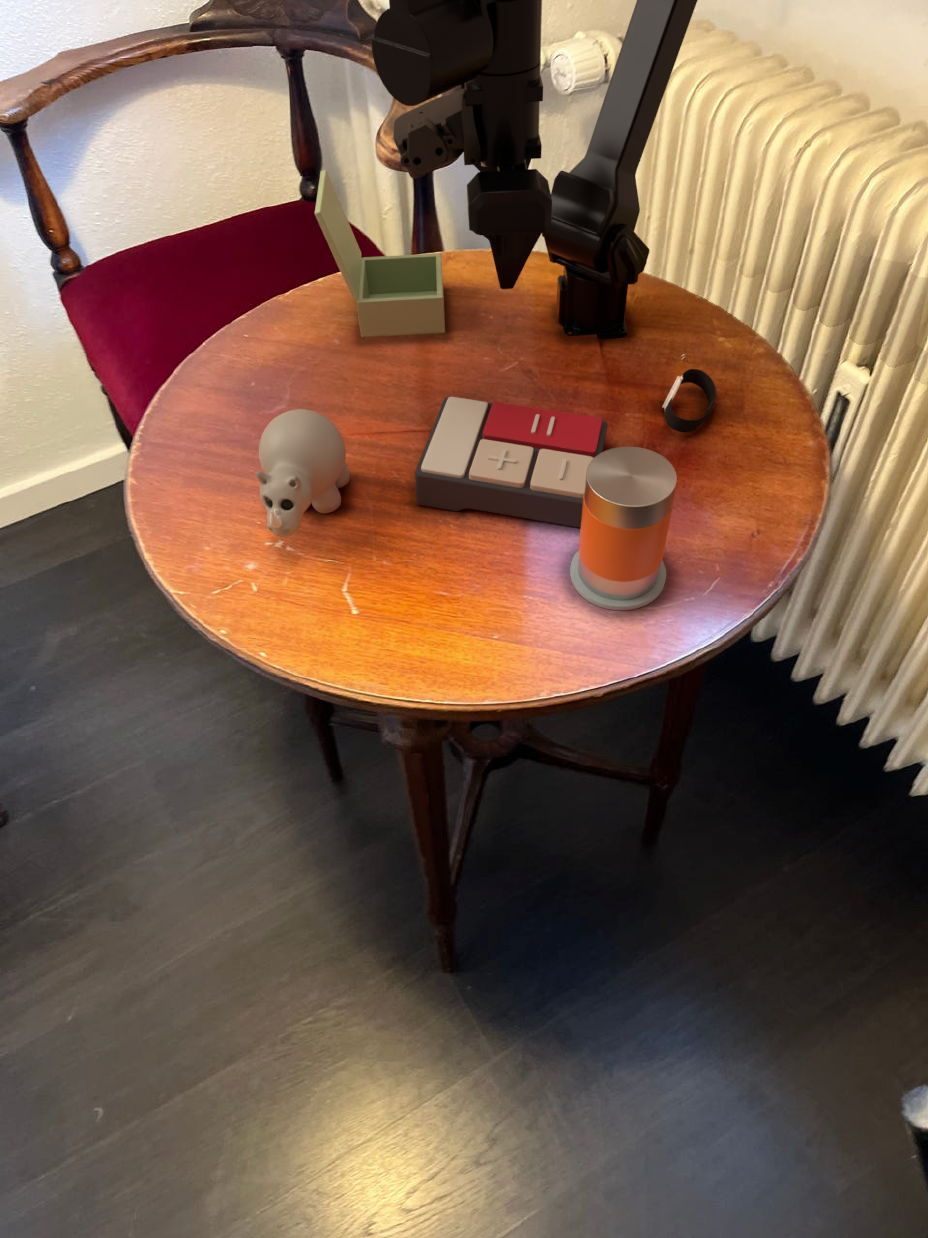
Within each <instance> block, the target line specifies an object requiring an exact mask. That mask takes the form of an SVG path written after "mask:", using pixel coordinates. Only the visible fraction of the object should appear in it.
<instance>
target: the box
mask: <svg viewBox="0 0 928 1238" xmlns="http://www.w3.org/2000/svg"><path fill="white" fill-rule="evenodd" d="M442 259H443V258H442V253H441V252H440V253H439V252H438V253H437V252H436V253H423V254H421V253H419V254H402V255H400V254H399V255H383V256H382V255H381V256H366V257H361V267H360V281H359V294H358V298H356V299H355V300H356V308H357V309H356V311H357V314H358V315H357V317H358V323H359V324H358V325H359V331H360V336H361V338H373V337H388V336H390V337H391V336H392V337H393V336H409V335H411V336H412V335H427V334H445V333H446V321H445V319H446V318H445V317H446V316H445V296H444V294H445V292H444V276H443V275H444V274H443V260H442Z"/></svg>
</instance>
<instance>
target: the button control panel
mask: <svg viewBox="0 0 928 1238" xmlns="http://www.w3.org/2000/svg"><path fill="white" fill-rule="evenodd" d="M430 430H431V431H430V433H429V436H428V438H427V441H426V443H425V446H424V448H423V451H422V453H421V455H420V458H419V460H418V463H417V466H416V469H415V471H414V484H415V486H414V487H415V501H416V502H415V503H416V504H417V505H419V506H423V507H430V508H436V509H442V510H448V511H454V512H458V511H461V510H466V509H470V510H476V511H483V512H488V513H493V514H500V515H505V516H510V517H511V516H512V517H516V518H522V519H529V520H534V521H540V522H546V523H552V524H558V525H563V526H568V527H575V528H580V529H581V519H582V507H583V496H584V491H585V481H586V471H587V468H588V465H589V464H590V462H591V461H592V460H593V459H594V458H595V457H596V456H597V455H599V454H600V453H602V452H604V448H605V444H606V443H605V442H606V437H607V431H608V422H607V421H606V420H603V419H602V417H597V416H596V417H595V416H590V415H584V414H578V413H577V414H576V413H571V412H564V411H559V410H558V411H557V410H552V409H546V408H538V407H531V406H525V405H519V404H513V403H506V402H499V401H494V402H488V401H483V400H476V399H470V398H464V397H458V396H457V397H456V396H446V397H444V398H443V400H442V403H441V406H440V408H439V411H438V413H437V416H436V418H435V421H434V423H433V425H432V428H431V429H430Z"/></svg>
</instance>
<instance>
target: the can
mask: <svg viewBox="0 0 928 1238" xmlns="http://www.w3.org/2000/svg"><path fill="white" fill-rule="evenodd" d="M676 472H677V471H676V470H675V468H674V466H673V465H672V462H670V461H669V460H668V459H667V458H666V457H665V456H663V455H661V454H660V453H658V452H655V451H653V450H652V449H648V448H644V447H640V446H639V447H638V446H618V447H613V448H610V449H606V450H603V452H602V453H600V454H599V455H597V456H596V457H595V458H594V459H593V460H592V461H591V462H590V464H589V465H588V468H587V471H586V481H585V491H584V496H583V507H582V519H581V528H580V529H579V530H580V531H579V532H580V533H579V542H578V544H579V545H578V550H579V560H578V573H579V576H580V579H581V581H582V582H583V583H584V585H585V586H586V587H587V588H588V589H589V590H591V591H592V592H594V593H595V594H597V595H599V596H602V597H604V598H608V599H613V600H629V599H634V598H638V597H640V596H642V595H644V594H646V593H647V592H649V591H650V590H651V589H652V588H653V587H654V585H655V584H656V582H657V580H658V576H659V571H660V566H661V562H662V561H663V558H664V553H665V549H666V542H667V537H668V532H669V529H670V528H669V527H670V523H671V518H672V512H673V507H674V498H675V494H676V488H677V482H678V477H677V473H676Z"/></svg>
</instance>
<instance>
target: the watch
mask: <svg viewBox="0 0 928 1238" xmlns="http://www.w3.org/2000/svg"><path fill="white" fill-rule="evenodd" d="M686 383H690V384H693V385H696V386H697V387H698V388H700V389H701V390H702V391H703V392H704V394H705V395H706V397H707V403H708V404H707V405H708V406H707V408H706V409H705V412H704V414H703V415H702V416H701V417H699V418H697V419H686V418H682V417H680V416H678V415H677V414H676V413H675V411H673V408H672V401H673V400H674V398H675V396H676V394H677V392H678V390H679V388H680V387H681V385H682V384H686ZM716 397H717V387H716V385H715V382H714V380H713V379H712V377H710V375H709V374H708V373H706V372H705V371H703V370H701V369H699V368H690V369H689V368H688V369H687V370H685V371H684V372H683V373H682V375H677V377H676V378H675V380H674V382H673V384H672V386H671V388H670V390H669V392H668V394H667V396H666V398H665V400H664V403H663V404H662V406H661V407H662V409H664V410H663V411H664V413H663V415H664V421H665V423H666V425H667V426H668V427H669V428H670V429H672V430H673V431H676V432H679V433H692V432H694V431H696V430H697V429H699V428H700V427H701V426H702V425H703V424H704V423H706V422H707V420H708V418H709V417H710V415H711V413H712V411H713V409H714V407H715V405H716V403H717V402H715V401H716Z"/></svg>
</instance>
